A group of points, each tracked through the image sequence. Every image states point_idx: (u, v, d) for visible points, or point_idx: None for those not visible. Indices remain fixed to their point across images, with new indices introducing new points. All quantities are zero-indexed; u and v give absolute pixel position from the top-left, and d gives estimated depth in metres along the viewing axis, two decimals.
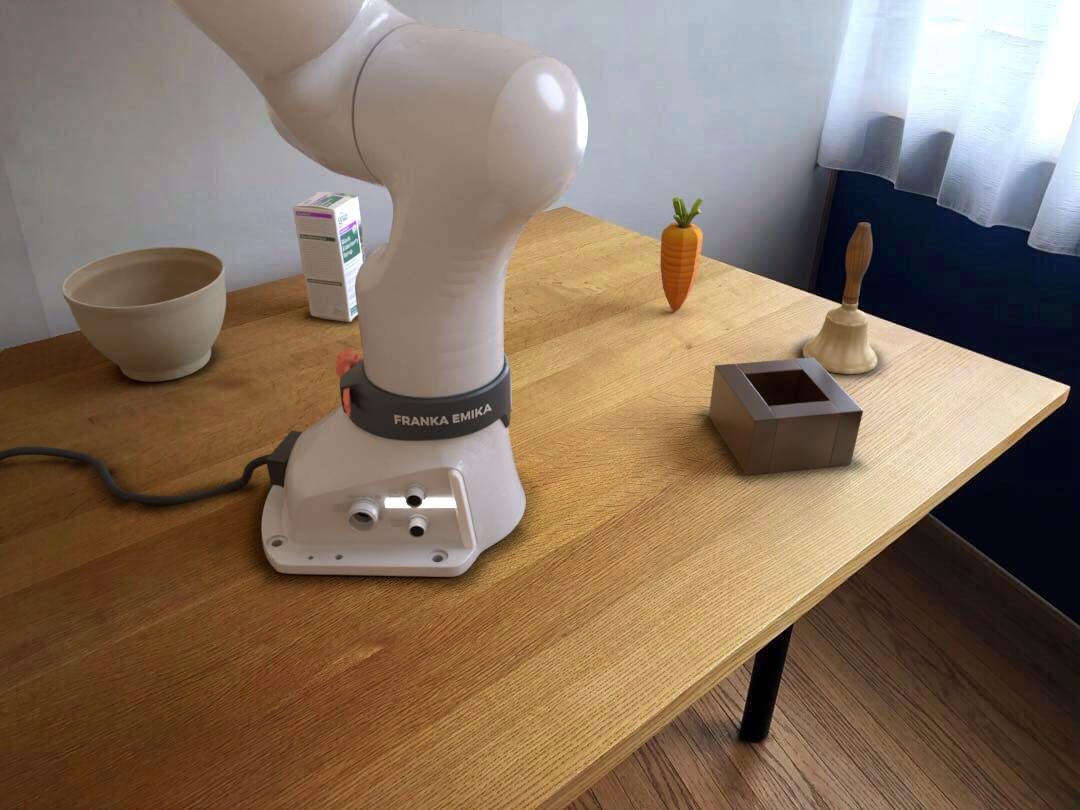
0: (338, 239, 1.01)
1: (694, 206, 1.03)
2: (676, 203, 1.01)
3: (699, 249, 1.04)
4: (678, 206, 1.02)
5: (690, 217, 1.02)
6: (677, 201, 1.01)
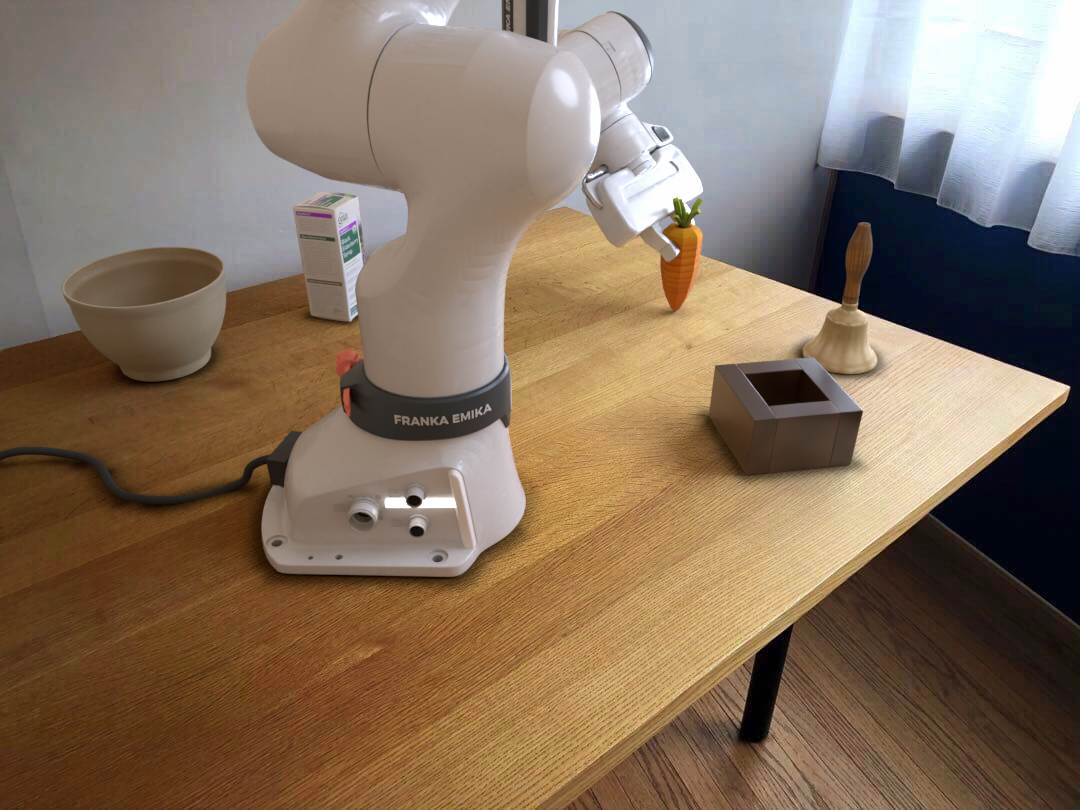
0: (338, 238, 1.01)
1: (694, 206, 1.03)
2: (676, 203, 1.01)
3: (699, 249, 1.04)
4: (678, 206, 1.02)
5: (690, 217, 1.02)
6: (677, 201, 1.01)
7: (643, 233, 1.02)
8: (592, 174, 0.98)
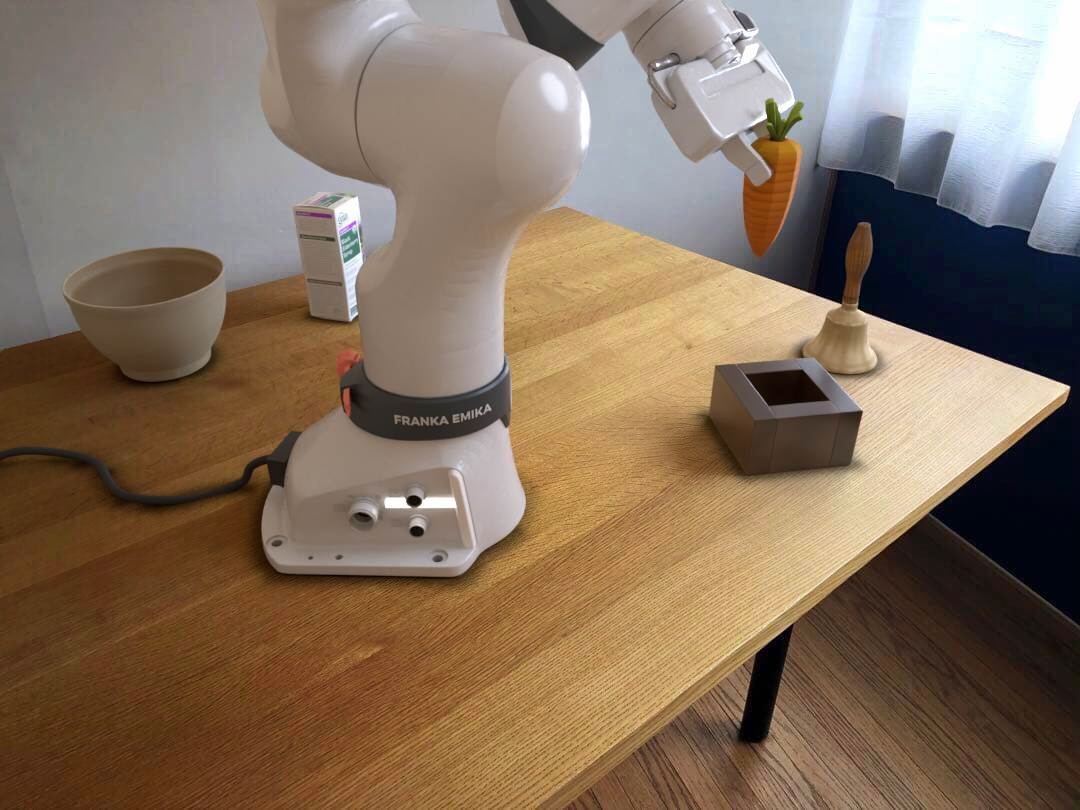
0: (338, 238, 1.01)
1: (792, 112, 0.77)
2: (770, 106, 0.76)
3: (797, 171, 0.79)
4: (772, 110, 0.76)
5: (788, 126, 0.76)
6: (772, 103, 0.75)
7: (725, 146, 0.76)
8: (661, 62, 0.72)
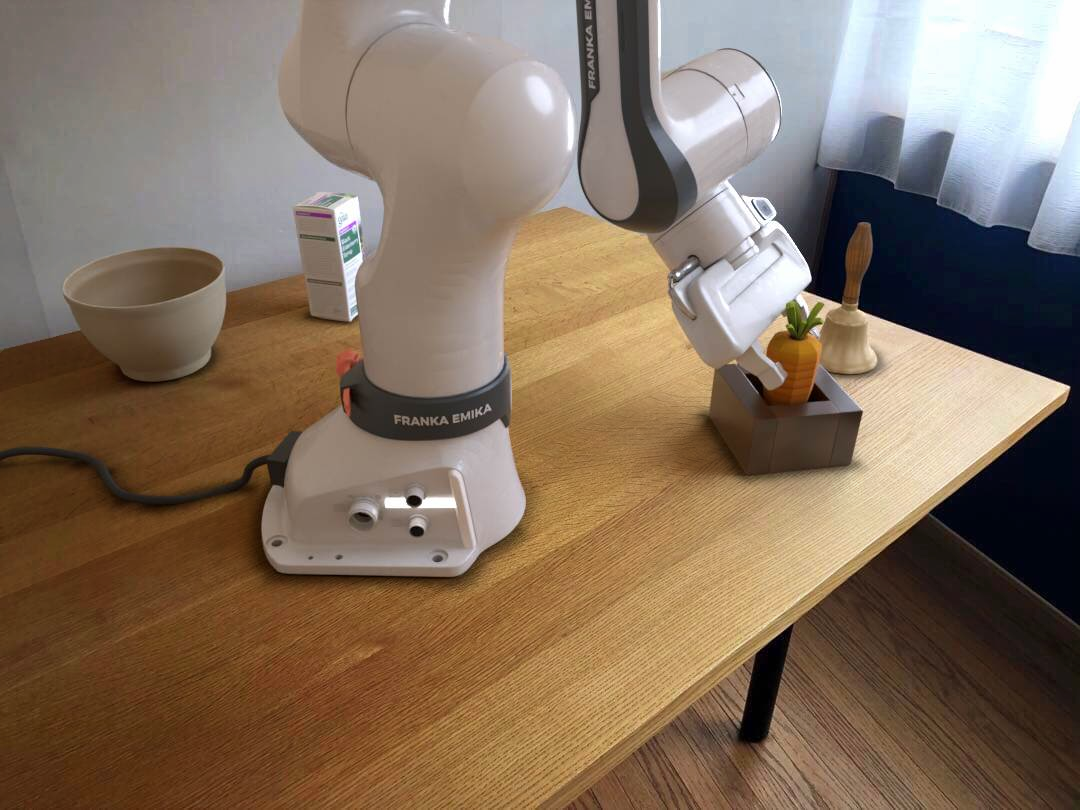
0: (338, 238, 1.01)
1: (813, 312, 0.78)
2: (791, 310, 0.76)
3: (817, 366, 0.79)
4: (793, 313, 0.77)
5: (808, 327, 0.77)
6: (792, 307, 0.76)
7: None
8: (681, 271, 0.73)
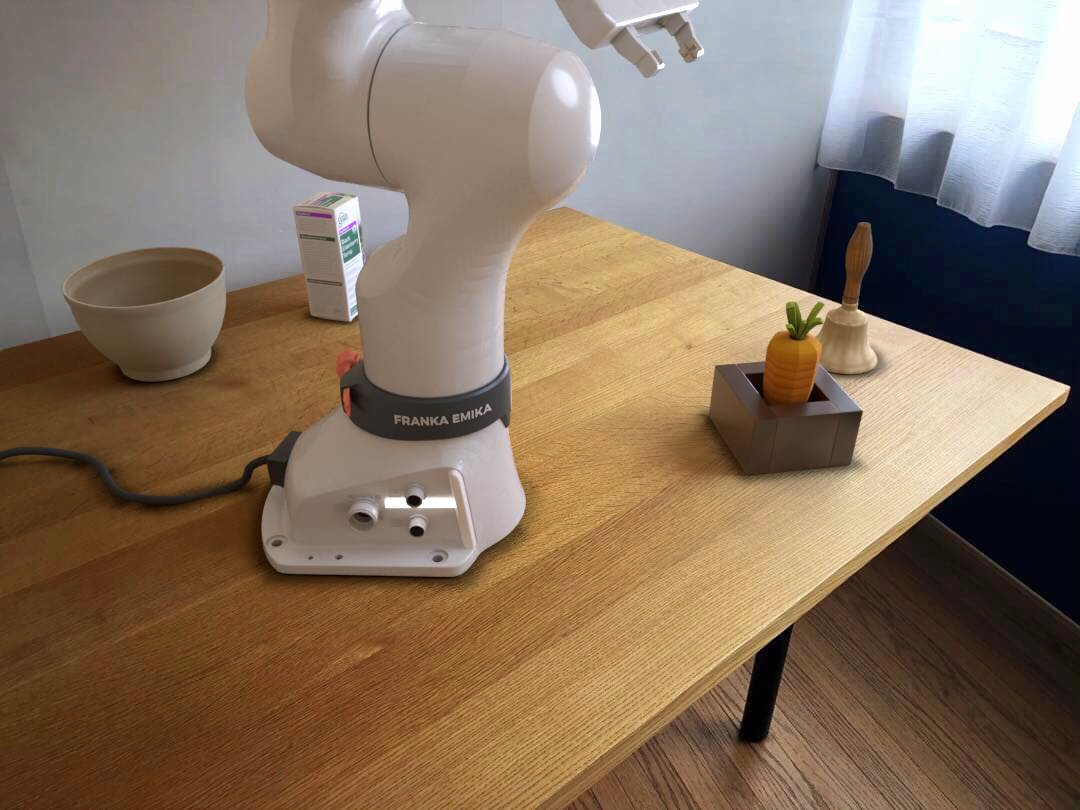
0: (338, 238, 1.01)
1: (813, 312, 0.78)
2: (791, 310, 0.76)
3: (817, 366, 0.79)
4: (793, 313, 0.77)
5: (808, 327, 0.77)
6: (792, 307, 0.76)
7: (615, 39, 0.80)
8: None
